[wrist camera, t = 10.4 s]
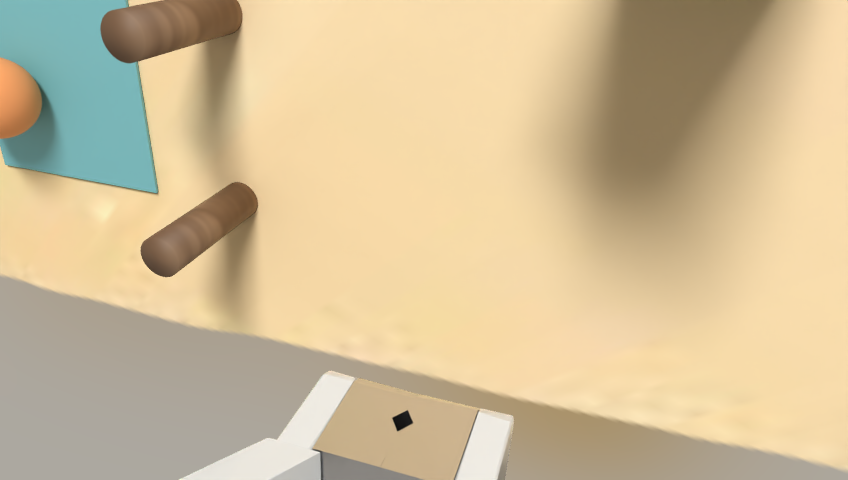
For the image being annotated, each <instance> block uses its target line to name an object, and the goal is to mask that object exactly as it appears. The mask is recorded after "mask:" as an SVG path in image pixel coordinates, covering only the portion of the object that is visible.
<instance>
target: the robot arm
mask: <svg viewBox="0 0 848 480" xmlns="http://www.w3.org/2000/svg"><path fill="white" fill-rule="evenodd" d="M513 425H514V417H513V416H512V415H508V414H503V413H499V412H494V411H489V410H486V409H479V408H475V407H471V406H467V405H463V404H459V403H454V402H450V401H446V400H442V399H438V398H433V397H429V396H425V395H420V394H416V393H413V392H409V391H405V390H401V389H398V388H394V387H391V386H387V385H383V384H379V383H376V382H372V381H369V380H365V379H362V378H355V377H351V376H348V375H344V374H341V373H337V372H334V371H328V372H327V373H325V374H324V375H322V376H321V378H320V379H319V380H318V382H317V383H316V385H315V386H314V388H313V389H312V391H311V392H310V393H309V395H308V396H307V398H306V399H305V400H304V402H303V403H302V405H301V406H300V407H299V409H298V410H297V412H296V413H295V415H294V416H293V417H292V419H291V420H290V422H289V423H288V425H287V426H286V427H285V429H284V430H283V431H282V433H281V434H280V436H279V437H278V439H277V440H275V439H271V438H266V439H264V440H262V441H260V442H258V443H255V444H253V445H251V446H249V447H247V448H245V449H243V450H240V451H239V452H236V453H234V454H232V455H230V456H228V457H226V458H224V459H221V460H219V461H217V462H215V463H213V464H211V465H209V466H207V467H205V468H202V469H200V470H198V471H196V472H194V473H192V474H190V475H188V476H186V477H183V478H181V479H179V480H505V476H506V470H507V463H508V456H509V450H510V444H511V437H512V431H513Z"/></svg>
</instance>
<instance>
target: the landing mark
mask: <svg viewBox="0 0 848 480" xmlns="http://www.w3.org/2000/svg"><path fill="white" fill-rule="evenodd" d="M126 7H129V6H128V0H0V58H4V59H7V60H10V61H12V62H14V63H16V64H18V65H20V66H21V67H23V68H24V69H25V70H26V71H27V72H28V73H29V74H30V75H31V76H32V77H33V78H34V80H35V81H36V83H37V84H38V87H39V89H40V92H41V97H42V108H41V112H40V115H39V117H38V119H37V121H36V122H35V123H34V125H33V126H32V127H31V128H29V129H28V130H27V131H25V132H24V133H22V134H20V135H17V136H14V137H10V138H4V139H0V147H1V151H2V154H3V158H4V162H5V165H10V166H15V167H20V168H25V169H31V170H36V171H41V172H47V173H52V174H57V175H63V176H68V177H73V178H79V179H84V180H89V181H95V182H100V183H105V184H111V185H116V186H121V187H127V188H132V189H137V190H143V191H148V192H153V193H158V187H157V181H156V174H155V168H154V162H153V156H152V150H151V143H150V137H149V131H148V125H147V118H146V112H145V106H144V100H143V93H142V87H141V81H140V75H139V68H138V62H135V63H124V62H121V61H119V60H117V59H116V58H115V57H113V56H112V55H111V54H110V52H109V51H108V50H107V48H106V47H105V45H104V43H103V40H102V37H101V31H100V26H101V21H102V18H103V17H104V15H105V14H106V13H107V12H109V11H111V10H115V9H120V8H126Z"/></svg>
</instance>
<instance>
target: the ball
mask: <svg viewBox="0 0 848 480" xmlns="http://www.w3.org/2000/svg"><path fill="white" fill-rule="evenodd" d="M41 108H42V97H41V92H40V89H39V87H38V84H37V83H36V81H35V80H34V78H33V77H32V76H31V75H30V74H29V73H28V72H27V71H26V70H25V69H24V68H23V67H21V66H20V65H18V64H16V63H14V62H12V61H10V60H7V59H4V58H0V139H4V138H10V137H14V136H17V135H20V134H22V133H24V132H25V131H27V130H28V129H29V128H31V127H32V126H33V125H34V123H35V122H36V121H37V119H38V117H39V115H40V112H41Z"/></svg>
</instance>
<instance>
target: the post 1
mask: <svg viewBox="0 0 848 480" xmlns="http://www.w3.org/2000/svg"><path fill="white" fill-rule="evenodd" d="M241 22H242V11H241V7H240V5H239V3H238V1H237V0H163V1H157V2H152V3H147V4H142V5H136V6H131V7H126V8H120V9H115V10H111V11H109V12H107V13H106V14H105V15H104V17H103V18H102V21H101V26H100V31H101V37H102V40H103V43H104V45H105V47H106V48H107V50H108V51H109V52H110V54H111V55H112V56H113V57H115V58H116V59H117V60H119V61H121V62H124V63H135V62H138V61H141V60H145V59H148V58H151V57H155V56H158V55H161V54H165V53H168V52H171V51H175V50H178V49H181V48H185V47H188V46H191V45H195V44H198V43H201V42H205V41H208V40H211V39H215V38H218V37H221V36H225V35H228V34H231V33H234V32H235V31H237V30H238V28H239V27H240V25H241Z"/></svg>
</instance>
